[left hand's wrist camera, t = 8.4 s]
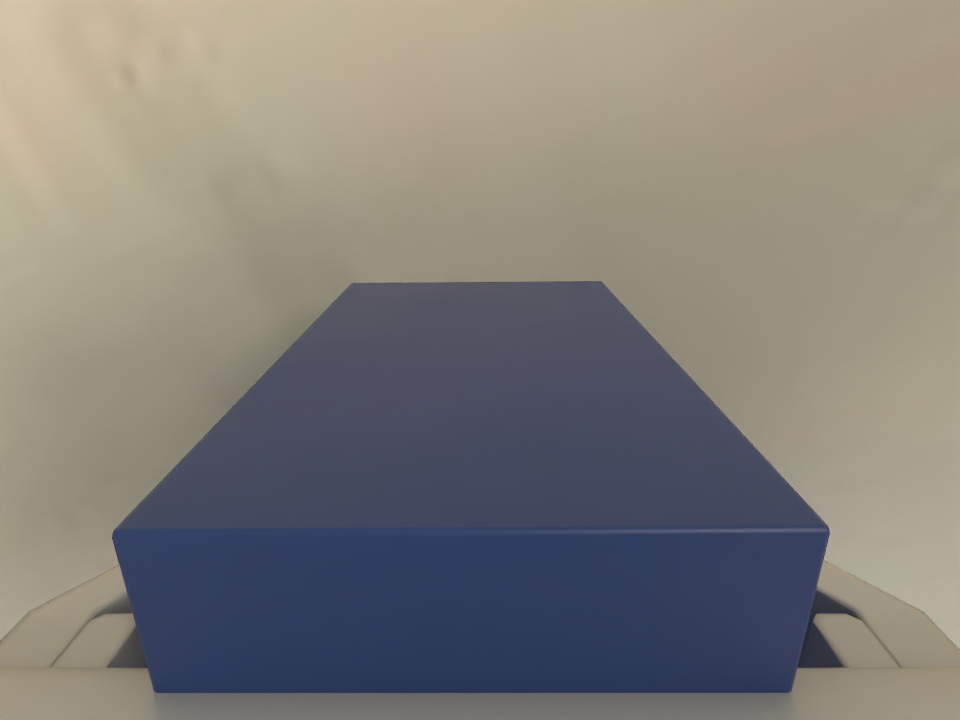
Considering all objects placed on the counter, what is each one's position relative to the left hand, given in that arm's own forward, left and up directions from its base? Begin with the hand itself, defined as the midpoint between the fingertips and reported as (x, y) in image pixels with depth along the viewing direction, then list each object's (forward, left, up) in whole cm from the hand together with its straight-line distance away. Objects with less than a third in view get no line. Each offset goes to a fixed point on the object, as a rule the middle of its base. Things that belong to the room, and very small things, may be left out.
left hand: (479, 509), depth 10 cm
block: (+8, 0, -4) cm, 9 cm away
